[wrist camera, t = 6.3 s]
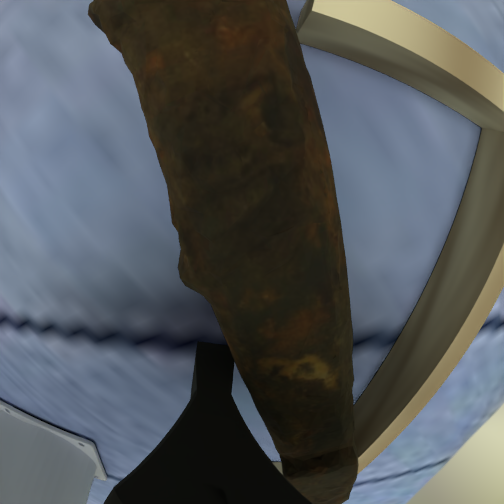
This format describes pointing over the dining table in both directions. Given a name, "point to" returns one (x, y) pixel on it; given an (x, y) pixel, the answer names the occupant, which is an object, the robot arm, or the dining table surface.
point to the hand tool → (253, 211)
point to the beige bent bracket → (468, 216)
